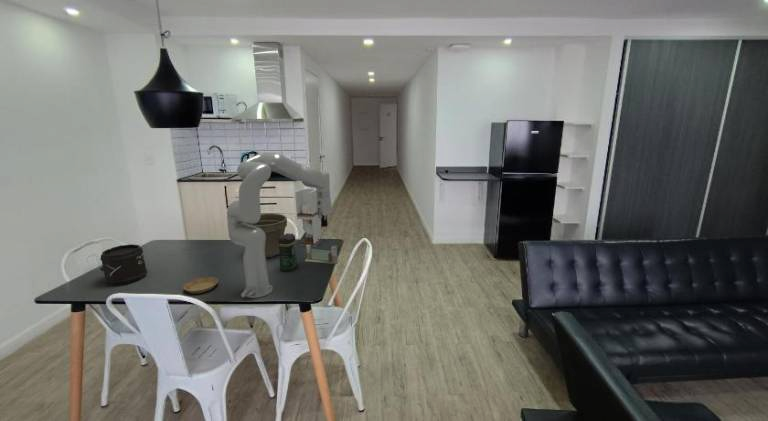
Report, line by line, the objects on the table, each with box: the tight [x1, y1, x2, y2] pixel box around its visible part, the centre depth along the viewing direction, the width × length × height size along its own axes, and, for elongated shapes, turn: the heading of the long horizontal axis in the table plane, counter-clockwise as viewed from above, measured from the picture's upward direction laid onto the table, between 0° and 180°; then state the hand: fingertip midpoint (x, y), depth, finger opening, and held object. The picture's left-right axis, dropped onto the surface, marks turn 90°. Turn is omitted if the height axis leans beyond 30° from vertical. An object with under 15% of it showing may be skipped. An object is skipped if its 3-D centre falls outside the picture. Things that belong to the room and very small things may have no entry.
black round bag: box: [99, 243, 148, 287], centre depth 174 cm, size 18×18×16 cm
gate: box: [311, 248, 331, 261], centre depth 193 cm, size 12×2×6 cm, turn 75°
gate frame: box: [304, 244, 340, 265], centre depth 193 cm, size 4×19×9 cm, turn 75°
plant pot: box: [247, 213, 288, 258], centre depth 205 cm, size 25×25×22 cm
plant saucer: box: [183, 276, 219, 294], centre depth 165 cm, size 15×15×3 cm
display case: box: [294, 187, 323, 248], centre depth 219 cm, size 11×11×35 cm
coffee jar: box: [278, 233, 298, 272], centre depth 184 cm, size 10×8×19 cm
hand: (324, 226), depth 195 cm, fingers closed
